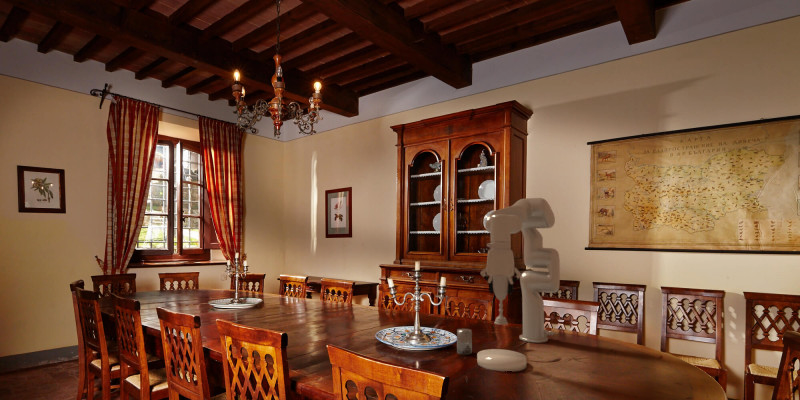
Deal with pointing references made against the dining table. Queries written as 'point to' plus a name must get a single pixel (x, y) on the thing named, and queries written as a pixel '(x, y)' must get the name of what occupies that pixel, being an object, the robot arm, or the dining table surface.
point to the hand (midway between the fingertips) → (500, 293)
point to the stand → (501, 360)
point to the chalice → (500, 295)
